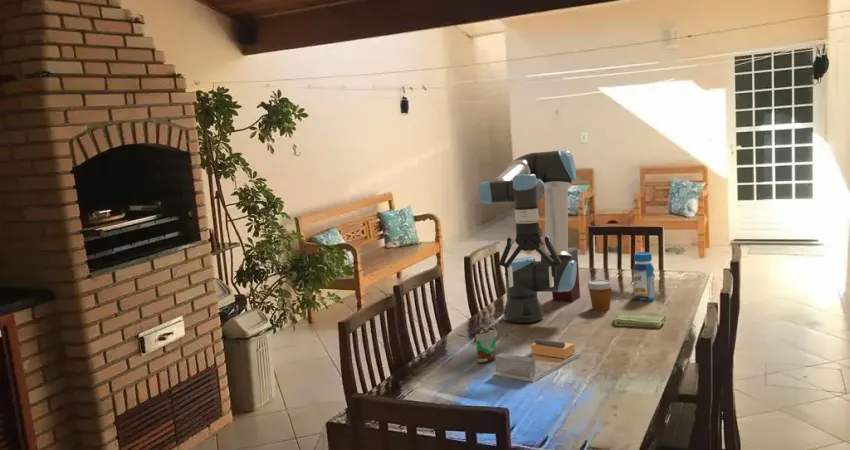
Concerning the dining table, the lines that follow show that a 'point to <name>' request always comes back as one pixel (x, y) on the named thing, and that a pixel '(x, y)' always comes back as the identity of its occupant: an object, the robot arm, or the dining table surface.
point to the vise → (529, 365)
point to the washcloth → (639, 320)
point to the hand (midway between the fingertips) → (531, 286)
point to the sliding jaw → (552, 348)
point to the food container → (486, 344)
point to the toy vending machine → (575, 292)
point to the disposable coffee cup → (600, 294)
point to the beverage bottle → (643, 277)
